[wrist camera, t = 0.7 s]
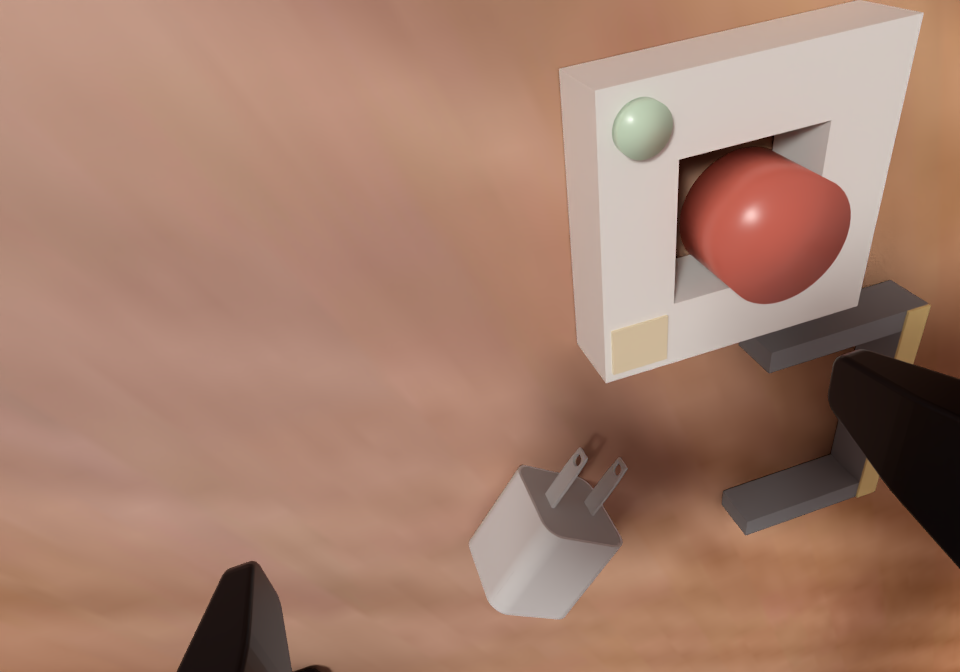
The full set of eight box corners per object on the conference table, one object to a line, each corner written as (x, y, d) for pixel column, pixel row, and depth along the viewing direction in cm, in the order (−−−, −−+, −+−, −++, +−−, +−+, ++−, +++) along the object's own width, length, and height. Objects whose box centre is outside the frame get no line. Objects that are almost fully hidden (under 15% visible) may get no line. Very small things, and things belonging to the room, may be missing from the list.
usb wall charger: (465, 534, 30) (491, 613, 27) (545, 414, 27) (585, 485, 24) (538, 545, 32) (571, 620, 29) (619, 434, 29) (666, 502, 26)
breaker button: (783, 246, 23) (837, 284, 21) (677, 277, 23) (722, 319, 21) (799, 133, 21) (862, 162, 19) (681, 164, 21) (733, 197, 18)
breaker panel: (811, 274, 27) (865, 311, 25) (577, 343, 26) (610, 390, 23) (859, -1, 21) (935, 15, 19) (558, 68, 20) (601, 94, 17)
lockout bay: (844, 462, 35) (874, 491, 33) (721, 504, 34) (746, 537, 32) (890, 279, 29) (931, 304, 27) (740, 325, 28) (773, 354, 26)
